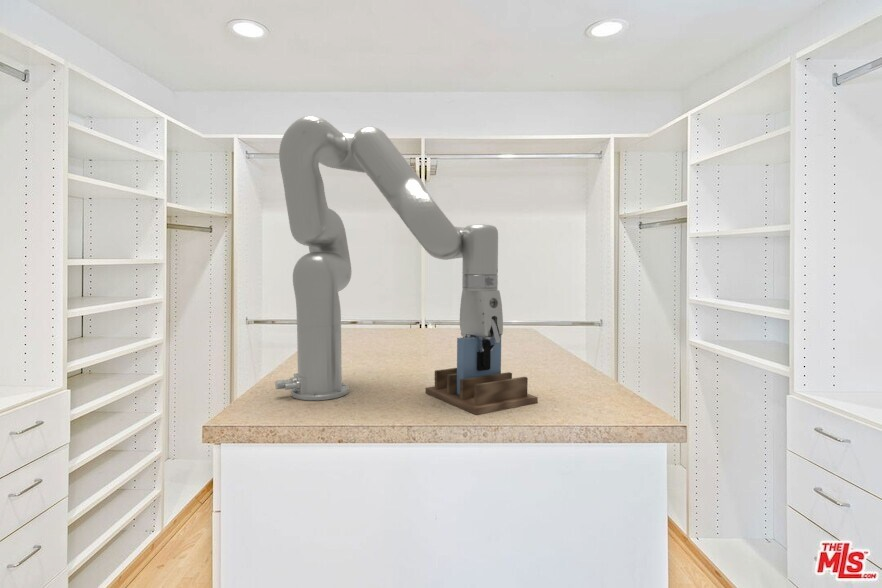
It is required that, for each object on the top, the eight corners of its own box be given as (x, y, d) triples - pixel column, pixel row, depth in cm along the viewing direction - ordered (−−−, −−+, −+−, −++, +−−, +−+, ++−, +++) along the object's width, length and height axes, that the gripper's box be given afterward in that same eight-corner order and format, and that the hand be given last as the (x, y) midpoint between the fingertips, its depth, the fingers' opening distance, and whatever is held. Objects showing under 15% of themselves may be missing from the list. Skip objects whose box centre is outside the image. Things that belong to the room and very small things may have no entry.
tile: (463, 396, 103) (463, 339, 102) (456, 393, 105) (457, 337, 104) (500, 390, 108) (501, 335, 107) (493, 387, 110) (494, 334, 109)
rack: (475, 414, 94) (475, 388, 94) (425, 393, 110) (425, 370, 110) (537, 402, 103) (537, 378, 102) (482, 383, 119) (482, 362, 118)
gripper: (518, 284, 100) (517, 373, 101) (472, 281, 114) (471, 360, 115) (489, 285, 96) (488, 378, 97) (444, 282, 110) (444, 364, 111)
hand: (479, 367), depth 106 cm, fingers closed on tile, 2 cm apart
